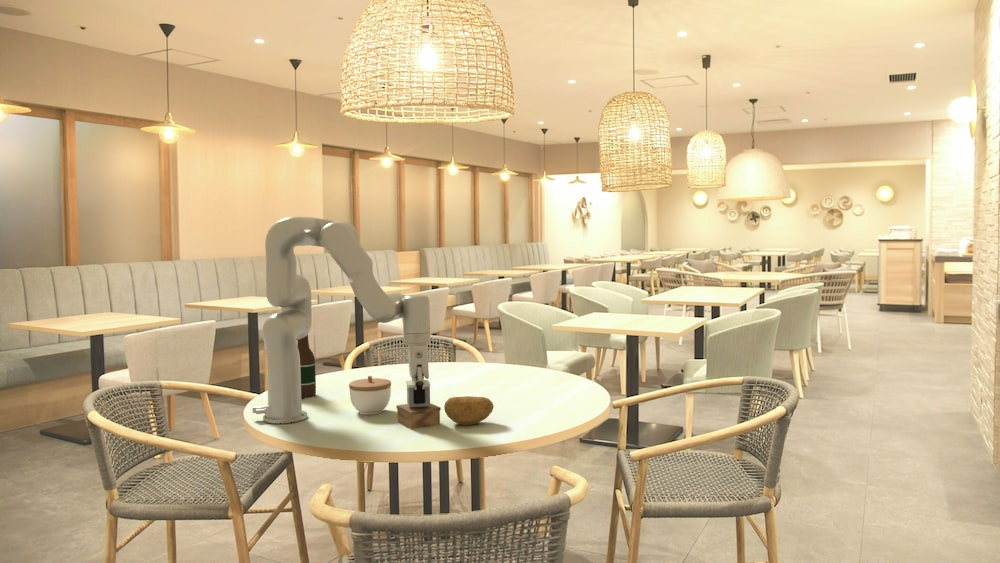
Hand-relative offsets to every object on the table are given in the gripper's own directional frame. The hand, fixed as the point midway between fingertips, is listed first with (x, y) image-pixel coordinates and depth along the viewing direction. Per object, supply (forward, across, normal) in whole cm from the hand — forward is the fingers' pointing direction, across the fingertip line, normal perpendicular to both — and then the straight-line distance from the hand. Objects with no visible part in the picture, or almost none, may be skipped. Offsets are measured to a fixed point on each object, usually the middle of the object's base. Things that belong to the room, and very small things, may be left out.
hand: (418, 400), depth 210 cm
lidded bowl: (+7, +17, +13) cm, 23 cm away
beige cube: (+1, 0, 0) cm, 1 cm away
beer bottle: (+7, +44, +34) cm, 56 cm away
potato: (+7, -4, -14) cm, 16 cm away
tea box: (+7, 0, 0) cm, 7 cm away
